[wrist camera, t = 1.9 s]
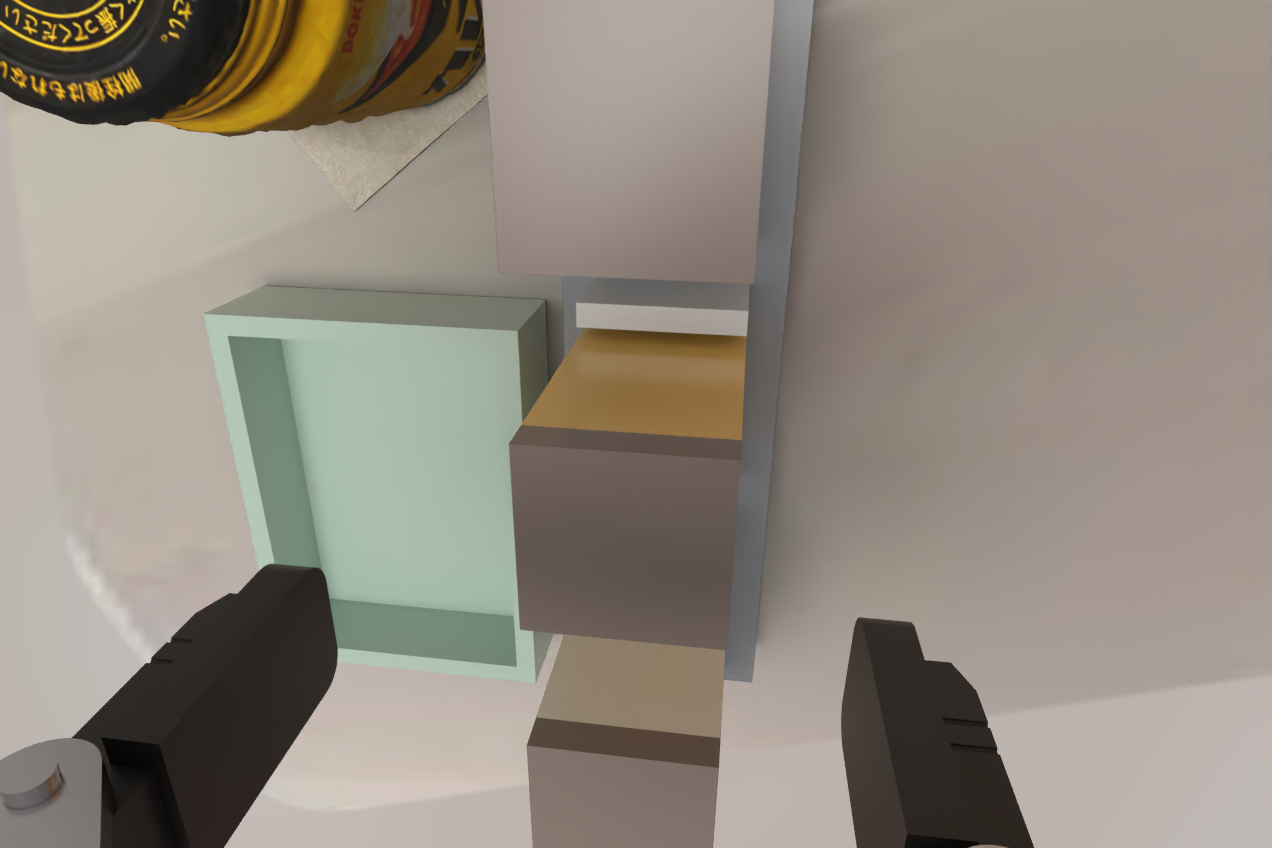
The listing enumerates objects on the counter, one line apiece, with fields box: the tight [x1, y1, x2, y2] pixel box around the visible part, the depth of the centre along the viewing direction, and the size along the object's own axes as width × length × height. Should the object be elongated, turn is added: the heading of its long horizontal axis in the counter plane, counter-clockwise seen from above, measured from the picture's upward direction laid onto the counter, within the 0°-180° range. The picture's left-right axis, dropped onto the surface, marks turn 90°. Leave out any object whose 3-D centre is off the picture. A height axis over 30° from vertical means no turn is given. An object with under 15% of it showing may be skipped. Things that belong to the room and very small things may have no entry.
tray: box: [203, 286, 554, 683], centre depth 26 cm, size 9×12×3 cm
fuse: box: [509, 328, 746, 650], centre depth 19 cm, size 4×4×9 cm
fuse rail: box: [482, 0, 814, 848], centre depth 19 cm, size 6×21×11 cm, turn 179°
